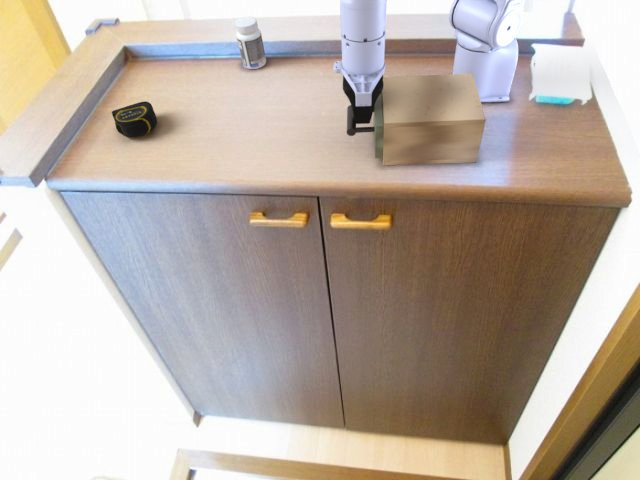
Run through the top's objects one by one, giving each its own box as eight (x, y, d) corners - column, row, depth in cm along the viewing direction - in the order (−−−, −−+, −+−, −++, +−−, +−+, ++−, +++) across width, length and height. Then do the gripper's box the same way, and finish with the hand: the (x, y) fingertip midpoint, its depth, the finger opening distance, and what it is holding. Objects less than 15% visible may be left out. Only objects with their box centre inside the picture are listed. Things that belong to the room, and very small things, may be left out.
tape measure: (155, 114, 83) (148, 95, 80) (163, 134, 79) (155, 115, 76) (117, 125, 82) (108, 107, 79) (123, 147, 78) (113, 128, 75)
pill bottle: (270, 58, 93) (262, 16, 86) (260, 71, 90) (252, 28, 83) (249, 56, 94) (240, 14, 87) (239, 68, 91) (229, 26, 85)
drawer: (347, 159, 69) (345, 127, 65) (348, 118, 76) (346, 86, 72) (460, 155, 68) (466, 122, 63) (451, 114, 74) (456, 81, 70)
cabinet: (383, 165, 69) (384, 123, 63) (380, 119, 76) (381, 77, 71) (476, 162, 68) (486, 119, 62) (464, 115, 75) (472, 73, 69)
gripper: (334, 9, 65) (337, 95, 75) (330, 61, 55) (334, 151, 65) (384, 6, 64) (381, 94, 74) (389, 59, 55) (385, 150, 65)
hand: (362, 121), depth 70 cm, fingers closed, pressing on drawer
